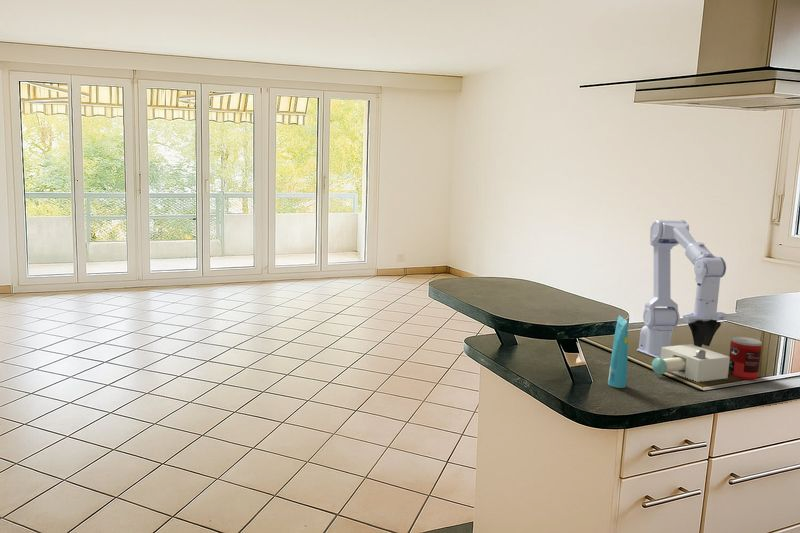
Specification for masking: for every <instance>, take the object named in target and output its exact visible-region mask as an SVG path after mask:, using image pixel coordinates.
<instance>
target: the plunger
mask: <svg viewBox="0 0 800 533" xmlns="http://www.w3.org/2000/svg"><path fill="white" fill-rule="evenodd" d="M705 355H706V351H705V350H697V352H696V358H698V359H705Z"/></svg>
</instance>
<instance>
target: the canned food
mask: <svg viewBox="0 0 800 533" xmlns="http://www.w3.org/2000/svg"><path fill="white" fill-rule="evenodd" d="M762 346H763V343H762V341H761V340H759V339H756V338H752V337H746V336H733V337H731V339H730V345H729V355H728V356H729V357H730V361H729V369H728V375H729V376H730V377H732V378H734V377H735V379H738V378H739V380H743V379H744V380H745V381H755V380H757V379H758V377H759V370H760V364H761V355H762V349H763V348H762ZM754 379H755V380H754Z"/></svg>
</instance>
